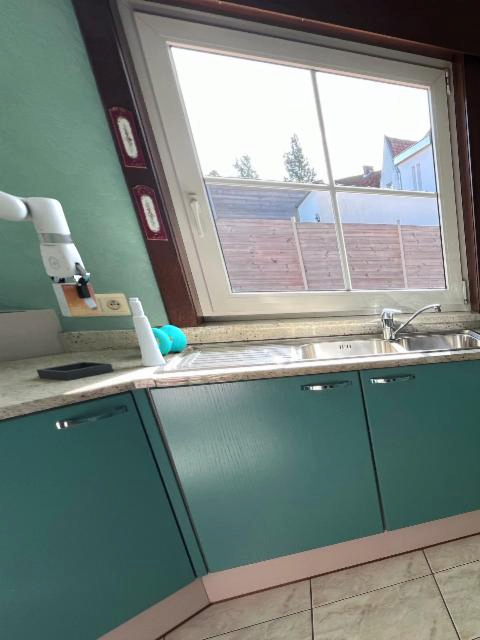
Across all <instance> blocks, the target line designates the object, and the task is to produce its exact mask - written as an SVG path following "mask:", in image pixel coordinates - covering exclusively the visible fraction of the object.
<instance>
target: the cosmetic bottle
mask: <svg viewBox="0 0 480 640" xmlns="http://www.w3.org/2000/svg"><path fill="white" fill-rule="evenodd" d="M128 299H129V301H128V303H129V306H130V310H131V313H132V315H133V316H132V322H133V326H134V329H135V333H136V337H137V341H138V345H139V349H140V354H141V360H142V361H141V362H142V366H144V367H159V366H163V365H166V364H167V362H166V360H165V358H164V356H163V355H162V354H161V352H160V350H159V348H158V345H157V343H158V342H157V343H156V341H157V339H156V340H155V337H154V335H153V332H152V329H151V328H152V327H151V324H150V321H149V319H148V317H147V316H146V315H145V312H144V309H143V306H142V302H141V301H140V300H139V297H129V298H128Z"/></svg>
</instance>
